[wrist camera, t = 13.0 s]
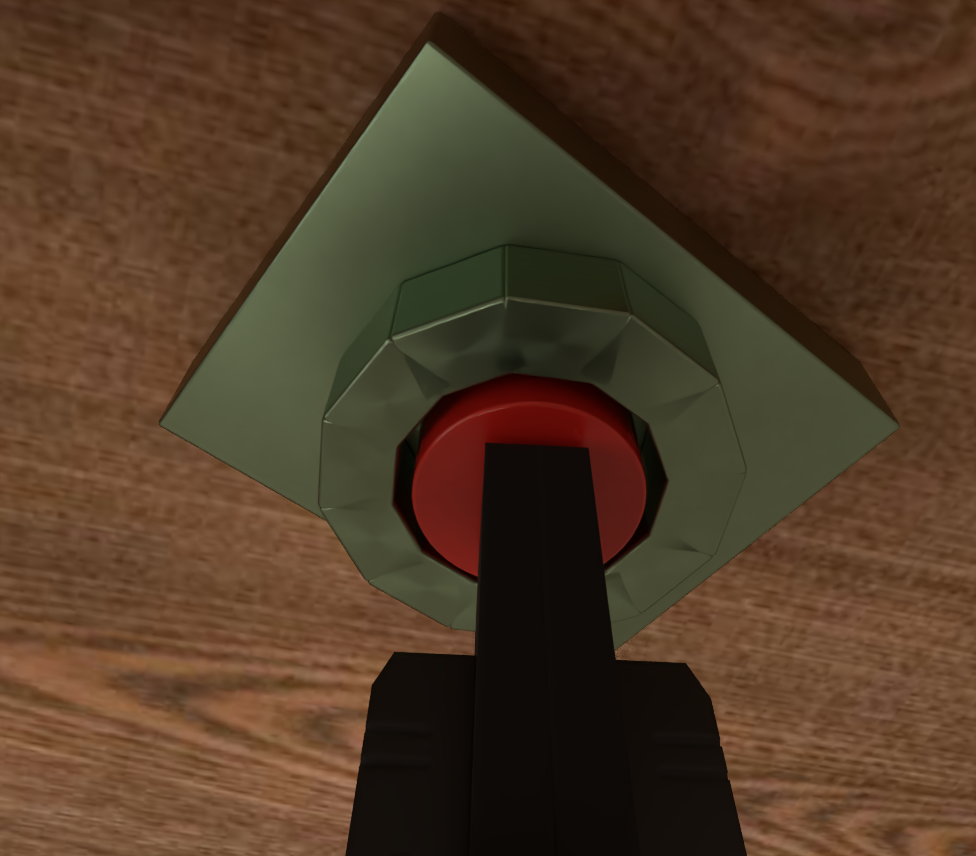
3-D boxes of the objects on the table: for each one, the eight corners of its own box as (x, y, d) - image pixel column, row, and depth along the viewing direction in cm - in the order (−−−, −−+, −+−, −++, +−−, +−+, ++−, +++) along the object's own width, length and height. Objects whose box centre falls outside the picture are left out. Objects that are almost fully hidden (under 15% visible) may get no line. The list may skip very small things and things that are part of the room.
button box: (192, 361, 18) (118, 489, 14) (438, 8, 14) (416, 70, 11) (581, 597, 21) (596, 745, 18) (861, 362, 17) (944, 493, 14)
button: (378, 449, 16) (365, 515, 14) (510, 300, 14) (511, 358, 12) (540, 549, 17) (543, 619, 15) (678, 423, 15) (697, 487, 14)
